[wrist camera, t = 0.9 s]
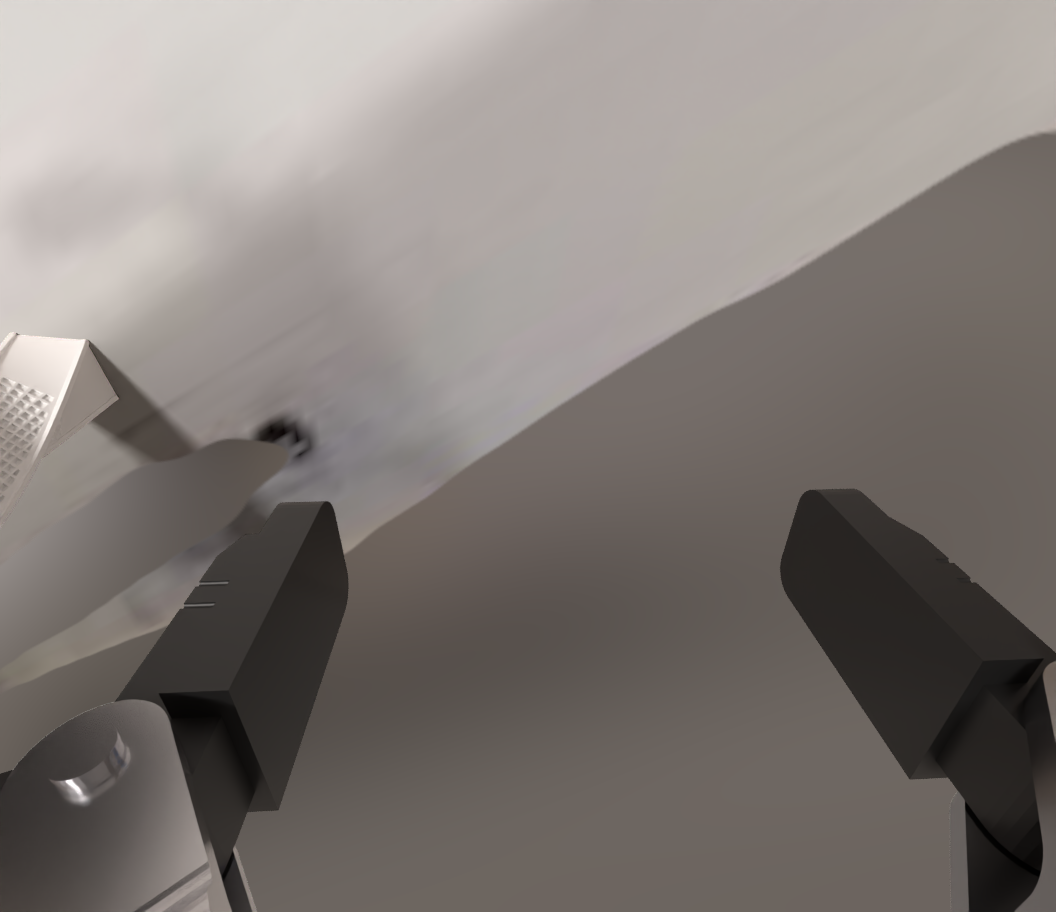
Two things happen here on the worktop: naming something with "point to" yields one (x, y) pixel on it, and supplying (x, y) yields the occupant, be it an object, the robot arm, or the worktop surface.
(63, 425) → the skyscraper
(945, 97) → the worktop surface
